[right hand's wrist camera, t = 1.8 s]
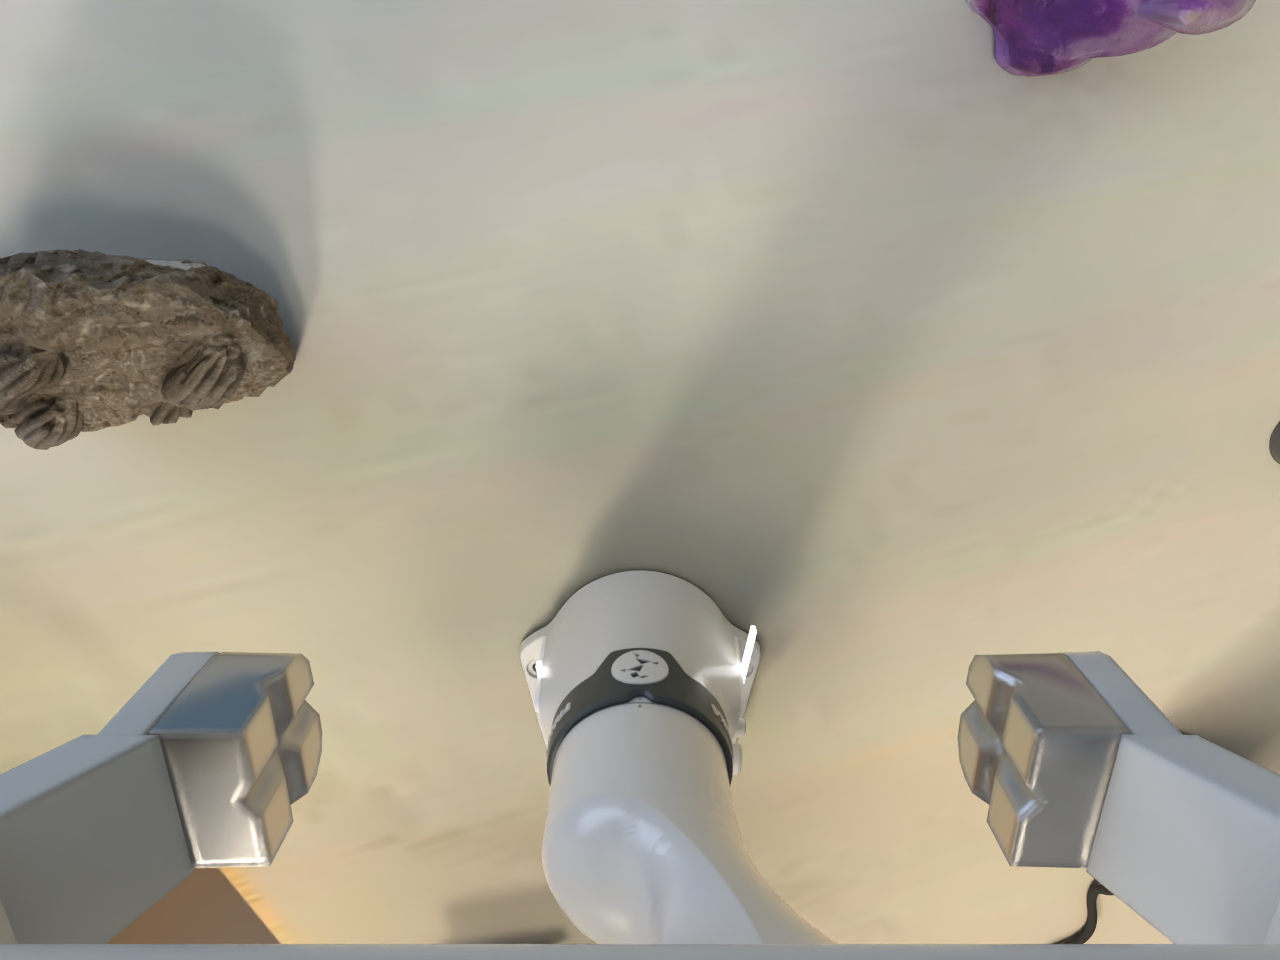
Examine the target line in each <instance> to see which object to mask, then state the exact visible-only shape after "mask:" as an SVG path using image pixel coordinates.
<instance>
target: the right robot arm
mask: <svg viewBox="0 0 1280 960" xmlns="http://www.w3.org/2000/svg"><path fill="white" fill-rule="evenodd" d="M756 633H757V631H756V627H755V626H752V625H751V628H750V632H749V634H747V633H746V632H744V631H742V630H740V629H739V628H737V627H735V626H733V625H732V624H731V623H730V622H729V621H728V620H727V619H726V617H725V616H724V615H723V613H722V612H721V610H720V609H719V608H718V606H717V605H716V604H715V603H714V601H713V600H712V599H711V598H710V597H709V596H708V595H706V594H705V593H704V592H703V591H702V590H700V589H699V588H698V587H696V586H694V585H693V584H691V583H689V582H687V581H685V580H683V579H681V578H678V577H676V576H673V575H669V574H666V573H661V572H656V571H645V570H635V571H624V572H619V573H614V574H611V575H607V576H604V577H602V578H599V579H597V580H595V581H593V582H591V583H589V584H587V585H586V586H584V587H582V588H581V589H580V590H578V591H577V592H576V593H575V594H574V595H572V596H571V597H570V598H569V599H568V600H567V601H566V603H565V604H564V605H563V606H562V608H561V609H560V611H559V612H558V613H557V615H556V616H555V618H554V619H553V620H552V621H551V622H550V623H549V624H548V625H547V626H545V627H543V628H541V629H540V630H538V631H536V632H534V633H533V634H531V635H530V636H528V637H527V638H526V639H525V640H524V641H523V642H522V643H521V646H520V661H521V664H522V668H523V671H524V674H525V678H526V681H527V685H528V688H529V691H530V695H531V698H532V701H533V705H534V709H535V712H536V715H537V718H538V722H539V725H540V729H541V732H542V735H543V739H544V742H545V745H546V749H547V757H548V759H547V774H548V781H549V785H550V793H549V800H548V808H547V815H546V822H545V830H544V837H543V845H542V863H543V870H544V874H545V877H546V881H547V884H548V886H549V888H550V890H551V893H552V894H553V896H554V898H555V899H556V901H557V903H558V904H559V906H560V907H561V909H562V910H563V912H564V913H565V914H566V916H567V917H568V919H569V920H570V921H571V922H572V924H573V925H574V926H575V927H576V928H577V929H578V930H579V931H580V932H581V933H582V934H584V935H585V936H586V937H588V938H589V939H590V940H592V941H594V942H595V943H597V944H106V943H108V942H109V941H110V940H111V939H112V938H114V937H115V936H116V935H117V934H119V933H120V932H121V931H122V930H124V929H125V928H126V927H127V926H128V925H130V924H131V923H132V922H133V921H135V920H136V919H137V918H138V917H139V916H141V915H142V914H143V913H144V912H145V911H147V910H148V909H149V908H150V907H152V906H153V905H154V904H155V903H156V902H158V901H159V900H160V899H161V898H163V897H164V896H165V895H166V894H167V893H169V892H170V891H171V890H172V889H174V888H175V887H176V886H177V885H178V884H180V883H181V882H182V881H183V880H185V879H186V878H187V877H188V876H189V875H191V874H192V873H193V868H214V867H249V866H270V865H271V863H272V861H273V859H274V857H275V855H276V854H277V852H278V850H279V848H280V846H281V844H282V842H283V840H284V838H285V836H286V834H287V832H288V830H289V828H290V827H291V825H292V823H293V817H292V811H291V806H290V805H291V804H292V803H294V802H295V801H297V800H298V799H300V798H301V797H302V796H304V795H305V794H307V793H308V791H309V789H310V787H311V785H312V783H313V781H314V779H315V777H316V775H317V770H318V766H319V761H320V757H321V752H322V729H321V722H320V716H319V714H318V713H317V712H316V711H315V710H314V709H313V708H312V707H311V706H310V705H309V704H308V703H307V702H306V701H305V698H306V697H307V695H308V693H309V692H310V690H311V688H312V686H313V685H314V682H313V677H312V672H311V668H310V663H309V660H308V659H307V658H306V657H305V656H303V655H302V654H288V653H239V652H222V653H219V652H181V653H177V654H173V655H171V656H170V657H169V658H168V659H167V660H166V661H165V662H164V663H163V664H162V665H161V667H160V668H159V669H158V670H157V671H156V672H155V673H154V674H153V675H152V676H151V677H150V678H149V679H148V681H147V682H146V683H145V684H144V685H143V686H142V687H141V688H140V689H139V690H138V691H137V692H136V693H135V695H134V696H133V697H132V698H131V699H130V700H129V701H128V702H127V703H126V704H125V705H124V706H123V708H122V709H121V710H120V711H119V712H118V713H117V714H116V715H115V716H114V717H113V718H112V719H111V720H110V722H109V723H108V724H107V725H106V726H105V727H104V728H103V729H102V730H101V731H100V732H99V733H98V734H97V735H82V736H80V737H78V738H76V739H74V740H72V741H70V742H68V743H66V744H63V745H61V746H59V747H57V748H55V749H53V750H51V751H49V752H47V753H45V754H43V755H41V756H38V757H36V758H34V759H32V760H30V761H28V762H26V763H24V764H22V765H20V766H18V767H16V768H13V769H11V770H9V771H7V772H5V773H3V774H1V775H0V960H1280V775H1279V774H1277V773H1275V772H1273V771H1271V770H1268V769H1266V768H1264V767H1262V766H1260V765H1258V764H1256V763H1254V762H1252V761H1250V760H1248V759H1246V758H1244V757H1241V756H1239V755H1237V754H1235V753H1233V752H1231V751H1229V750H1227V749H1225V748H1223V747H1221V746H1219V745H1216V744H1214V743H1212V742H1210V741H1208V740H1206V739H1204V738H1202V737H1200V736H1198V735H1183V734H1182V733H1181V732H1180V731H1179V730H1178V729H1177V728H1176V727H1175V726H1174V725H1173V724H1172V723H1171V721H1170V720H1169V719H1168V718H1167V717H1166V716H1165V715H1164V714H1163V713H1162V712H1161V711H1160V710H1159V709H1158V707H1157V706H1156V705H1155V704H1154V703H1153V702H1152V701H1151V700H1150V699H1149V698H1148V697H1147V696H1146V694H1145V693H1144V692H1143V691H1142V690H1141V689H1140V688H1139V687H1138V686H1137V685H1136V684H1135V683H1134V682H1133V680H1132V679H1131V678H1130V677H1129V676H1128V675H1127V674H1126V673H1125V672H1124V671H1123V670H1122V669H1121V667H1120V666H1119V665H1118V664H1117V663H1116V662H1115V661H1114V660H1113V659H1112V658H1111V657H1110V656H1109V655H1106V654H1104V653H1102V652H1099V651H1095V652H1066V653H1051V654H1002V655H975V656H974V658H973V660H972V662H971V664H970V666H969V671H968V676H967V681H966V685H967V686H968V688H969V690H970V692H971V693H972V695H973V697H974V698H975V701H974V702H973V703H972V704H971V705H970V706H969V707H968V708H967V709H966V710H965V711H964V712H963V713H962V714H961V716H960V724H959V731H958V747H959V759H960V763H961V767H962V770H963V774H964V777H965V779H966V781H967V783H968V785H969V787H970V789H971V791H972V793H973V794H975V795H976V796H978V797H979V798H980V799H982V800H983V801H985V802H986V803H988V804H989V805H990V806H989V811H988V817H987V823H988V825H989V827H990V828H991V830H992V832H993V834H994V836H995V838H996V840H997V842H998V844H999V846H1000V848H1001V850H1002V851H1003V853H1004V855H1005V857H1006V859H1007V861H1008V863H1009V865H1010V866H1029V867H1065V868H1087V870H1086V872H1087V873H1088V874H1090V875H1091V876H1092V877H1093V878H1095V879H1096V880H1097V881H1098V882H1099V883H1101V884H1102V885H1103V886H1104V887H1106V888H1107V889H1108V890H1109V891H1110V892H1112V893H1113V894H1114V895H1115V896H1117V897H1118V898H1119V899H1120V900H1121V901H1123V902H1124V903H1125V904H1126V905H1127V906H1129V907H1130V908H1131V909H1132V910H1134V911H1135V912H1136V913H1137V914H1138V915H1140V916H1141V917H1142V918H1143V919H1145V920H1146V921H1147V922H1148V923H1149V924H1151V925H1152V926H1153V927H1154V928H1155V929H1157V930H1158V931H1159V932H1160V933H1162V934H1163V935H1164V936H1165V937H1166V938H1168V939H1169V940H1170V941H1171V942H1173V943H1174V944H838V943H836V942H834V941H833V940H831V939H830V938H828V937H827V936H825V935H824V934H823V933H821V932H820V931H819V930H817V929H816V928H814V927H813V926H812V925H811V924H809V923H808V922H807V921H806V920H805V919H804V918H802V917H801V916H800V915H799V914H798V913H796V912H795V911H794V910H793V909H792V908H791V907H790V906H789V905H788V904H787V903H786V902H785V901H784V900H783V899H782V898H781V897H780V896H779V895H778V894H777V892H776V891H775V890H774V889H773V888H772V887H771V886H770V885H769V884H768V882H767V881H766V880H765V879H764V877H763V876H762V875H761V874H760V872H759V871H758V869H757V868H756V866H755V865H754V863H753V862H752V860H751V859H750V857H749V855H748V853H747V851H746V849H745V847H744V844H743V841H742V838H741V834H740V831H739V827H738V823H737V819H736V815H735V811H734V806H733V801H732V796H731V791H730V785H731V781H732V775H736V774H739V772H740V769H741V763H742V748H741V745H739V744H735V742H736V739H737V738H743V737H744V735H745V730H746V721H745V719H742V718H743V715H744V712H745V709H746V705H747V702H748V698H749V695H750V691H751V688H752V685H753V681H754V678H755V674H756V671H757V668H758V664H759V661H760V645H759V643H758V642H757V641H756V640H755V637H756ZM535 663H536V666H535V665H534V664H535ZM741 663H742V665H741Z"/></svg>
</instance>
